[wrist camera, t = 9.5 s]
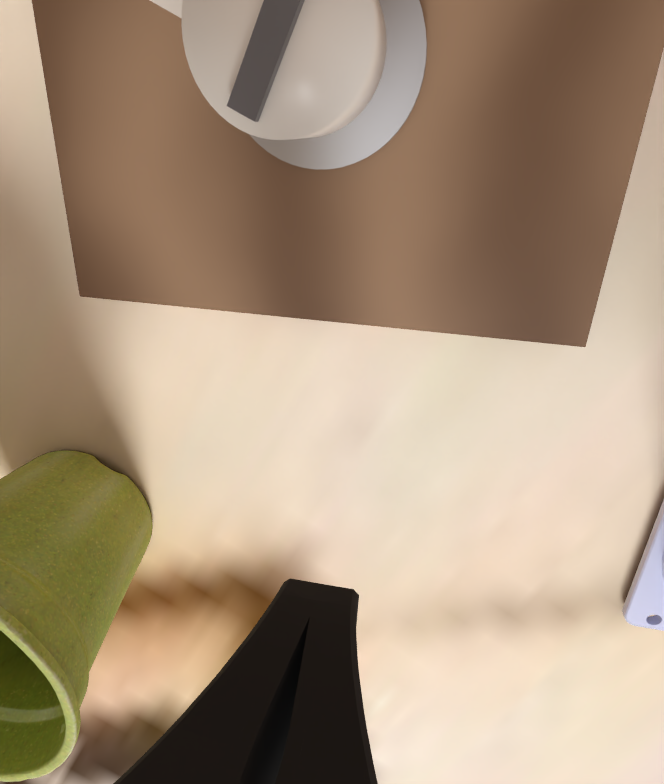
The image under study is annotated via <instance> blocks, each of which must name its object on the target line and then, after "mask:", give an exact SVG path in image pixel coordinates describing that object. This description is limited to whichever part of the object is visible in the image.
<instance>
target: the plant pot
mask: <svg viewBox="0 0 664 784" xmlns="http://www.w3.org/2000/svg"><path fill="white" fill-rule="evenodd" d="M151 535H152V518H151V513H150V509H149V507H148V505H147V502H146V500H145V498H144V497H143V495H142V493H141V492H140V490H139V489H138V488H137V486H136V485H135V484H134V483H133V482H132V481H131V480H130V479H129V478H128V477H127V476H126V475H124V474H121V473H118V472H115V471H113V470H111V469H110V468H108V467H106V466H105V465H103V464H102V463H100V462H99V461H98V460H97V459H96V458H95V457H94V456H93V455H90V454H86V453H83V452H78V451H67V450H65V451H54V452H50V453H46V454H44V455H41V456H39V457H37V458H35V459H34V460H32V461H30V462H29V463H27V464H25V465H24V466H22V467H20V468H18V469H17V470H15V471H13V472H11V473H10V474H8V475H6V476H5V477H3V478H1V479H0V781H4V782H10V781H22V780H26V779H32V778H38V777H41V776H44V775H46V774H48V773H50V772H52V771H53V770H54V769H56V768H57V767H59V766H60V765H61V764H62V763H63V762H64V761H65V760H66V759H67V758H68V756H69V755H70V753H71V752H72V750H73V748H74V746H75V743H76V741H77V738H78V734H79V730H80V722H81V720H80V710H79V708H80V706H81V704H82V701H83V699H84V696H85V694H86V691H87V687H88V679H89V671H90V669H91V667H92V664H93V662H94V660H95V658H96V656H97V653H98V651H99V649H100V647H101V645H102V643H103V640H104V638H105V636H106V634H107V632H108V629H109V627H110V625H111V623H112V621H113V619H114V617H115V614H116V612H117V610H118V608H119V606H120V604H121V602H122V599H123V597H124V595H125V593H126V591H127V589H128V587H129V585H130V582H131V580H132V578H133V576H134V574H135V572H136V570H137V568H138V566H139V564H140V562H141V560H142V558H143V555H144V553H145V551H146V549H147V547H148V544H149V542H150V538H151Z"/></svg>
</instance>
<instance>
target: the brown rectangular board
mask: <svg viewBox="0 0 664 784" xmlns="http://www.w3.org/2000/svg"><path fill="white" fill-rule="evenodd" d="M379 3H380V6H381V9H382V12H383V15H384V21H385V26H386V38H387V46H386V58H385V65H384V69H383V73H382V76H381V79H380V82H379V84H378V87H377V89H376V91H375V93H374V95H373V97H372V98H371V100H370V102H369V103H368V104H367V106H366V107H365V109H364V110H363V111H362V112H361V113H360V114H359V115H358V116H357V117H356V118H355V119H354V120H353V121H351V122H350V123H349V124H348V125H346V126H344V127H343V128H341V129H340V130H337V131H335V132H333V133H331V134H327V135H324V136H319V137H312V138H301V139H290V140H270V139H264V138H259V137H256V136H253V135H250V134H248V133H246V132H244V131H241V130H239V129H238V128H236V127H235V126H233V125H232V124H230V123H229V122H227V121H226V120H225V119H224V118H223V117H221V116H220V115H219V114H218V113H217V112H216V111H215V109H214V108H213V107H212V106H211V105H210V104H209V102H208V101H207V100H206V98H205V97H204V96H203V94H202V92H201V91H200V89H199V87H198V85H197V84H196V82H195V79H194V77H193V75H192V72H191V70H190V67H189V64H188V61H187V58H186V54H185V49H184V44H183V37H182V26H181V24H182V18H180V17H178V16H176V15H174V14H173V13H171V12H169V11H167V10H166V9H164V8H162V7H160V6H159V5H157V4H155V3H153V2H152V1H150V0H32V4H33V10H34V16H35V22H36V29H37V35H38V41H39V47H40V53H41V59H42V66H43V72H44V78H45V84H46V90H47V96H48V103H49V109H50V115H51V121H52V127H53V133H54V140H55V146H56V152H57V158H58V164H59V170H60V177H61V183H62V189H63V195H64V201H65V207H66V214H67V220H68V226H69V232H70V238H71V244H72V250H73V257H74V263H75V269H76V275H77V281H78V287H79V294H80V296H82V297H92V298H102V299H112V300H122V301H132V302H142V303H152V304H162V305H172V306H182V307H191V308H201V309H211V310H221V311H231V312H241V313H251V314H261V315H271V316H281V317H291V318H301V319H311V320H321V321H331V322H341V323H351V324H361V325H371V326H381V327H391V328H401V329H411V330H420V331H430V332H440V333H450V334H460V335H470V336H480V337H490V338H500V339H510V340H520V341H530V342H540V343H550V344H560V345H570V346H580V347H585V346H586V342H587V339H588V335H589V331H590V327H591V323H592V319H593V316H594V312H595V308H596V304H597V300H598V296H599V293H600V289H601V285H602V281H603V277H604V273H605V270H606V266H607V262H608V258H609V254H610V251H611V247H612V243H613V239H614V235H615V231H616V228H617V224H618V220H619V216H620V212H621V208H622V205H623V201H624V197H625V193H626V189H627V185H628V182H629V178H630V174H631V170H632V166H633V163H634V159H635V155H636V151H637V147H638V143H639V140H640V136H641V132H642V128H643V124H644V120H645V117H646V113H647V109H648V105H649V101H650V97H651V94H652V90H653V86H654V82H655V78H656V75H657V71H658V67H659V63H660V59H661V55H662V52H663V48H664V0H379Z"/></svg>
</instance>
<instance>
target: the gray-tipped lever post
mask: <svg viewBox="0 0 664 784" xmlns="http://www.w3.org/2000/svg"><path fill="white" fill-rule="evenodd" d="M150 1H152V2H153V3H155V4H157V5H159V6H160V7H162V8H164V9H166V10H167V11H169V12H171V13H173V14H174V15H176V16H178V17H180V18H182V24H181V26H182V37H183V44H184V49H185V54H186V58H187V61H188V64H189V67H190V70H191V72H192V75H193V77H194V79H195V82H196V84H197V85H198V87H199V89H200V91H201V92H202V94H203V96H204V97H205V98H206V100H207V101H208V102H209V104H210V105H211V106H212V107H213V108H214V109H215V111H216V112H217V113H218V114H219V115H220V116H221V117H223V118H224V119H225V120H226V121H227V122H229V123H230V124H232V125H233V126H235V127H236V128H238V129H239V130H241V131H244V132H246V133H248V134H250V135H253V136H256V137H259V138H264V139H270V140H290V139H301V138H312V137H319V136H324V135H327V134H331V133H333V132H335V131H337V130H340V129H341V128H343V127H344V126H346V125H348V124H349V123H350V122H351V121H353V120H354V119H355V118H356V117H357V116H358V115H359V114H360V113H361V112H362V111H363V110H364V109H365V107H366V106H367V104H368V103H369V102H370V100H371V98H372V97H373V95H374V93H375V91H376V89H377V87H378V84H379V82H380V79H381V76H382V73H383V69H384V65H385V58H386V46H387V38H386V26H385V21H384V15H383V12H382V9H381V6H380V3H379V0H150Z"/></svg>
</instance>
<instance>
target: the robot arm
mask: <svg viewBox="0 0 664 784" xmlns="http://www.w3.org/2000/svg"><path fill="white" fill-rule="evenodd" d="M358 600H359V595H358V594H357V593H356V592H355V591H354V589H348V588H342V587H336V586H330V585H324V584H318V583H313V582H307V581H301V580H295V579H289V580H287V581H285V582H284V583H283V585H282V586H281V588H280V590H279V592H278V593H277V595H276V596H275V598H274V599H273V601H272V602H271V604H270V605H269V607H268V608H267V610H266V611H265V613H264V614H263V616H262V617H261V618H260V620H259V621H258V623H257V624H256V625H255V627H254V628H253V629H252V631H251V632H250V634H249V635H248V636H247V638H246V639H245V640H244V641H243V643H242V644H241V645H240V647H239V648H238V649H237V650H236V652H235V653H234V654H233V655H232V657H231V658H230V659H229V661H228V662H227V663H226V664H225V666H224V667H223V668H222V669H221V671H220V672H219V673H218V674H217V675H216V677H215V678H214V679H213V680H212V681H211V682H210V684H209V685H208V686H207V687H206V688H205V689H204V690H203V692H202V693H201V694H200V695H199V696H198V697H197V698H196V700H195V701H194V702H193V703H192V704H191V705H190V706H189V708H188V709H187V710H186V711H185V712H184V713H183V714H182V715H181V717H180V718H179V719H178V720H177V721H176V722H175V723H174V724H173V725H172V726H171V727H170V728H169V729H168V730H167V732H166V733H165V734H164V735H163V736H162V737H161V738H160V739H159V740H158V741H157V742H156V743H155V744H154V745H153V746H152V747H151V748H150V749H149V750H148V751H147V752H146V753H145V754H144V755H143V756H142V757H141V758H140V759H139V760H138V761H137V762H136V763H135V764H134V765H133V766H132V767H131V768H130V769H129V770H128V771H127V772H126V773H124V774H123V775H122V776H121V777H120V778H119V779H118V780H117V781H116V782H115V783H114V784H377V779H376V774H375V769H374V765H373V760H372V754H371V749H370V744H369V739H368V733H367V728H366V721H365V715H364V709H363V702H362V694H361V686H360V679H359V670H358V659H357V642H356V623H357V612H358ZM622 612H623V615H624V617H625V619H626V621H627V622H628V623H629V624H631V625H634V626H639V627H645V628H651V629H657V630H663V631H664V500H663V502H662V505H661V508H660V510H659V513H658V516H657V518H656V521H655V524H654V526H653V529H652V532H651V534H650V537H649V540H648V542H647V545H646V547H645V550H644V553H643V555H642V558H641V561H640V563H639V566H638V569H637V571H636V574H635V577H634V579H633V582H632V585H631V587H630V590H629V593H628V595H627V598H626V601H625V603H624V606H623V611H622ZM650 615H655V616H650ZM648 616H650V617H648Z"/></svg>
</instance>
